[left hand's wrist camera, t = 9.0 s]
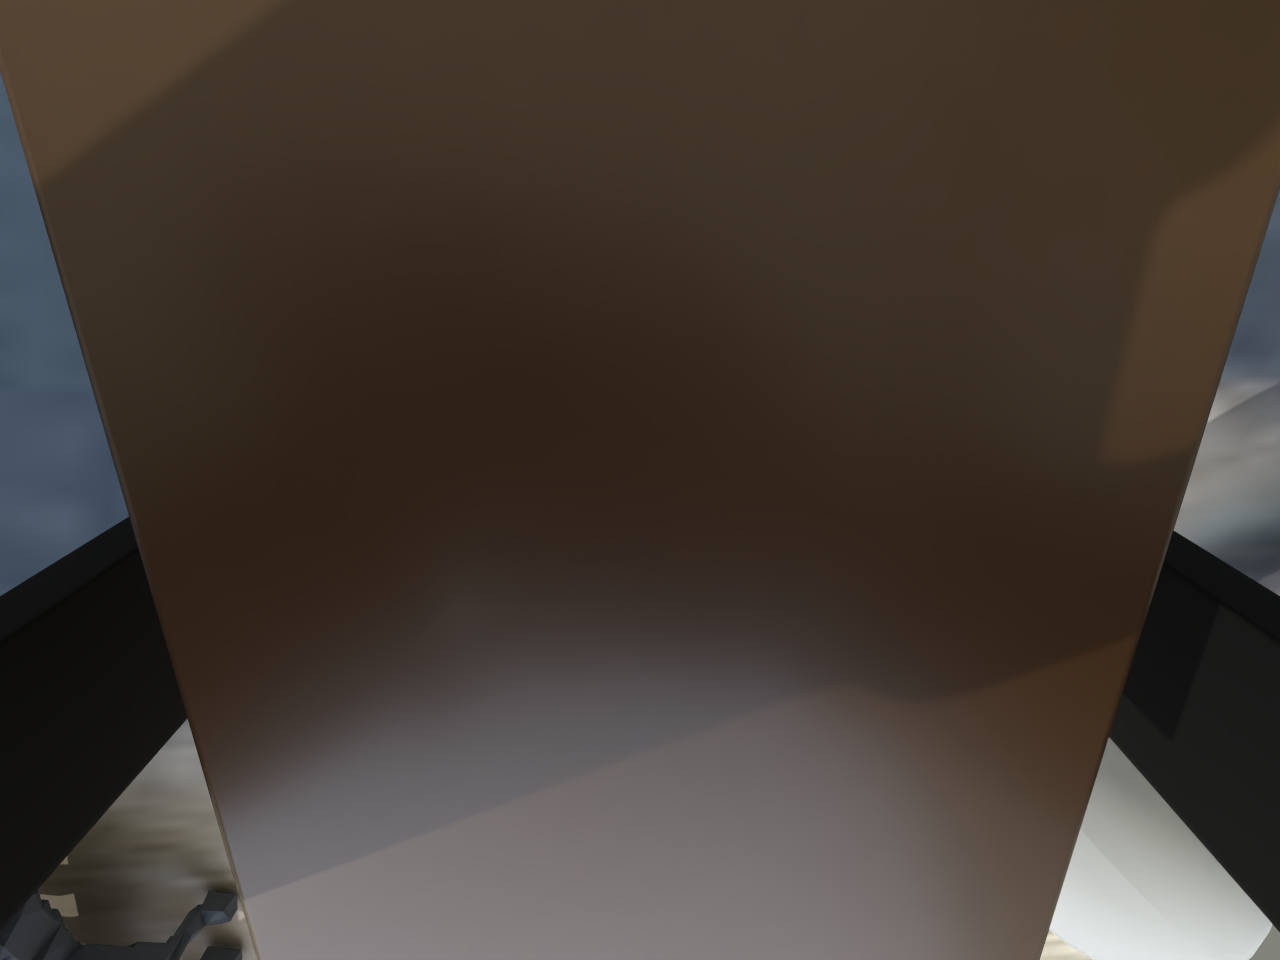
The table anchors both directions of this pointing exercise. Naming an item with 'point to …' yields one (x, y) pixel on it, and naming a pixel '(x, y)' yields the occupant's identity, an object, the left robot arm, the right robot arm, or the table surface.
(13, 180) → the table surface
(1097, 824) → the light bulb
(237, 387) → the box
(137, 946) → the toy
